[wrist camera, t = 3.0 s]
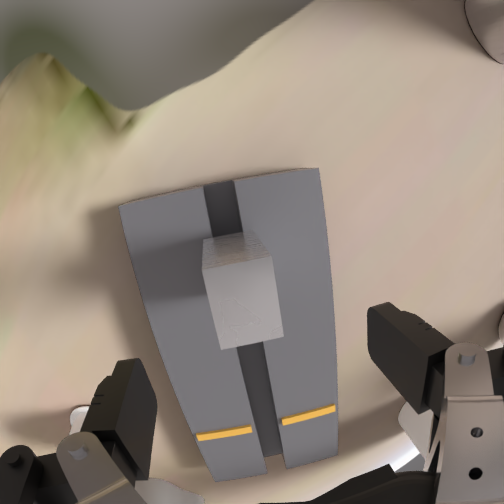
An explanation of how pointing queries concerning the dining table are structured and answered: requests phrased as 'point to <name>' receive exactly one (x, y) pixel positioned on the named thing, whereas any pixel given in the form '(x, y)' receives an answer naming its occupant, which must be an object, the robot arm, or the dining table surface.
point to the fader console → (252, 355)
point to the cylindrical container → (416, 427)
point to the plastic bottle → (501, 329)
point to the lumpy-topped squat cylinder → (165, 493)
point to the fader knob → (241, 289)
